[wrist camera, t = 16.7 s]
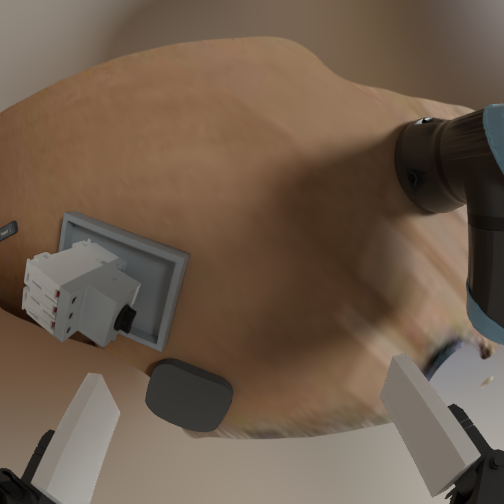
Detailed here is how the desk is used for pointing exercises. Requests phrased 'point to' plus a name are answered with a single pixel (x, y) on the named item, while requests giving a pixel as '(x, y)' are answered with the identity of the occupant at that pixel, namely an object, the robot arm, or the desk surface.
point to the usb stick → (8, 230)
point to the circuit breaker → (80, 293)
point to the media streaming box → (188, 395)
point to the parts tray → (137, 273)
